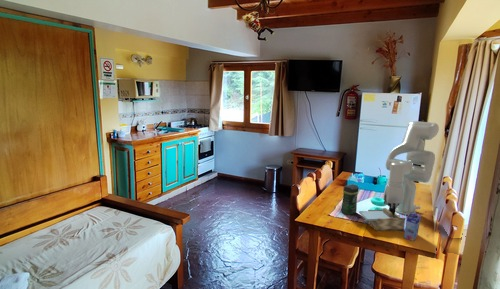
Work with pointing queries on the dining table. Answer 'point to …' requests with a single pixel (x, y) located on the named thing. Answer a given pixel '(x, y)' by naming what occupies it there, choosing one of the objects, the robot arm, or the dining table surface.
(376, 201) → the donuts
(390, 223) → the birch box
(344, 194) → the coffee jar
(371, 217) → the cover plate
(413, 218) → the ink cartridge box
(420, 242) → the dining table surface
